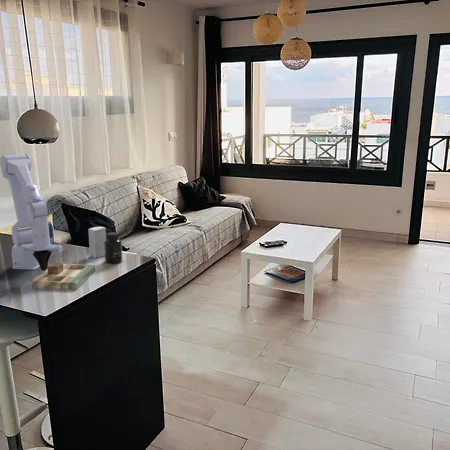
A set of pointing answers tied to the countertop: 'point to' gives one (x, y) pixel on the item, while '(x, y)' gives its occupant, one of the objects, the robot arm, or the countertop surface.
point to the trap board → (65, 277)
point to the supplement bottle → (113, 248)
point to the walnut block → (55, 268)
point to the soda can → (51, 233)
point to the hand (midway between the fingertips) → (44, 269)
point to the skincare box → (97, 241)
